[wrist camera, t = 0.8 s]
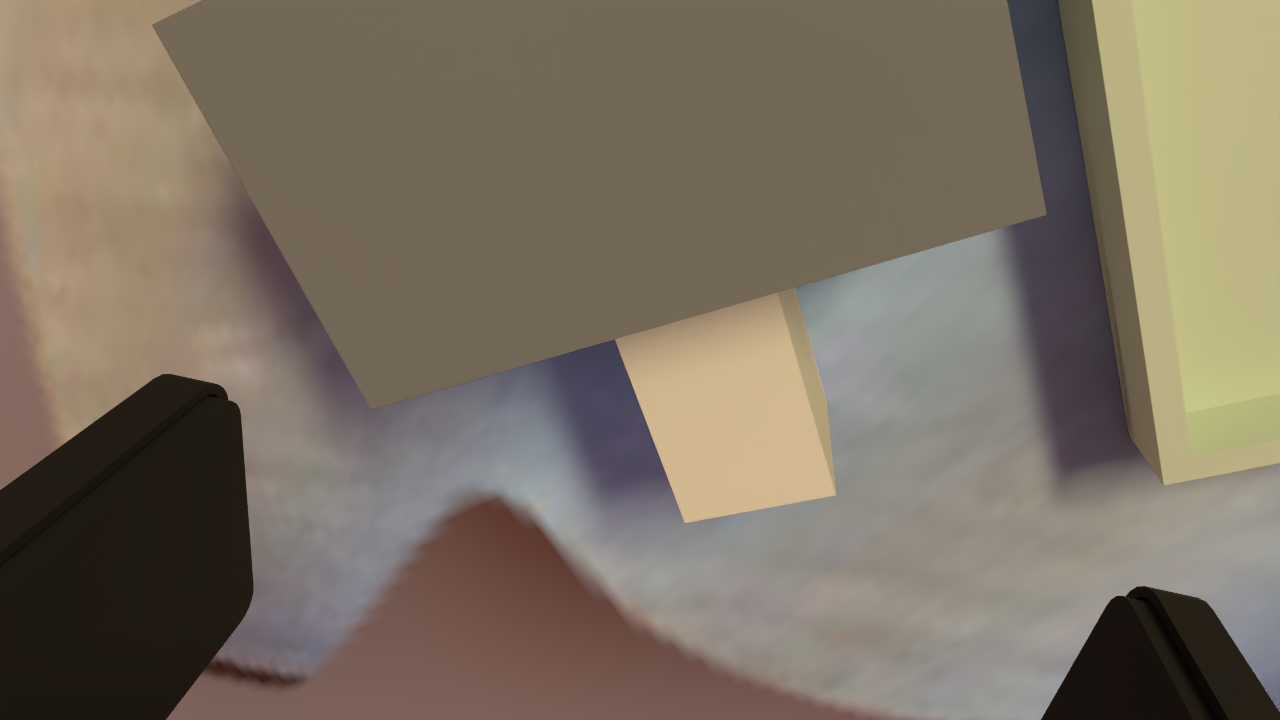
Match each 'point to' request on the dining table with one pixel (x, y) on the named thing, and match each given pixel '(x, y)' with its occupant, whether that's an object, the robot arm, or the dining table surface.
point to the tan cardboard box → (735, 407)
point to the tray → (1186, 219)
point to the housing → (597, 158)
